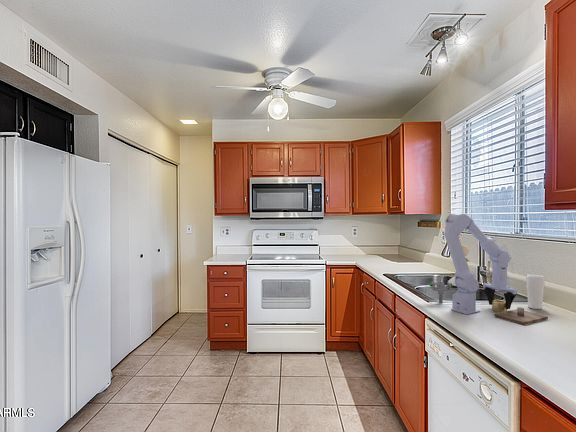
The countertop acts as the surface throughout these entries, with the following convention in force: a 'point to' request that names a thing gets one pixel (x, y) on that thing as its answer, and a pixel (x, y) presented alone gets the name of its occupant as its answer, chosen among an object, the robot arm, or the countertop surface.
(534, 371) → the countertop surface
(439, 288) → the mechanical component
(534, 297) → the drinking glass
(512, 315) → the hub board
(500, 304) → the brass collar
